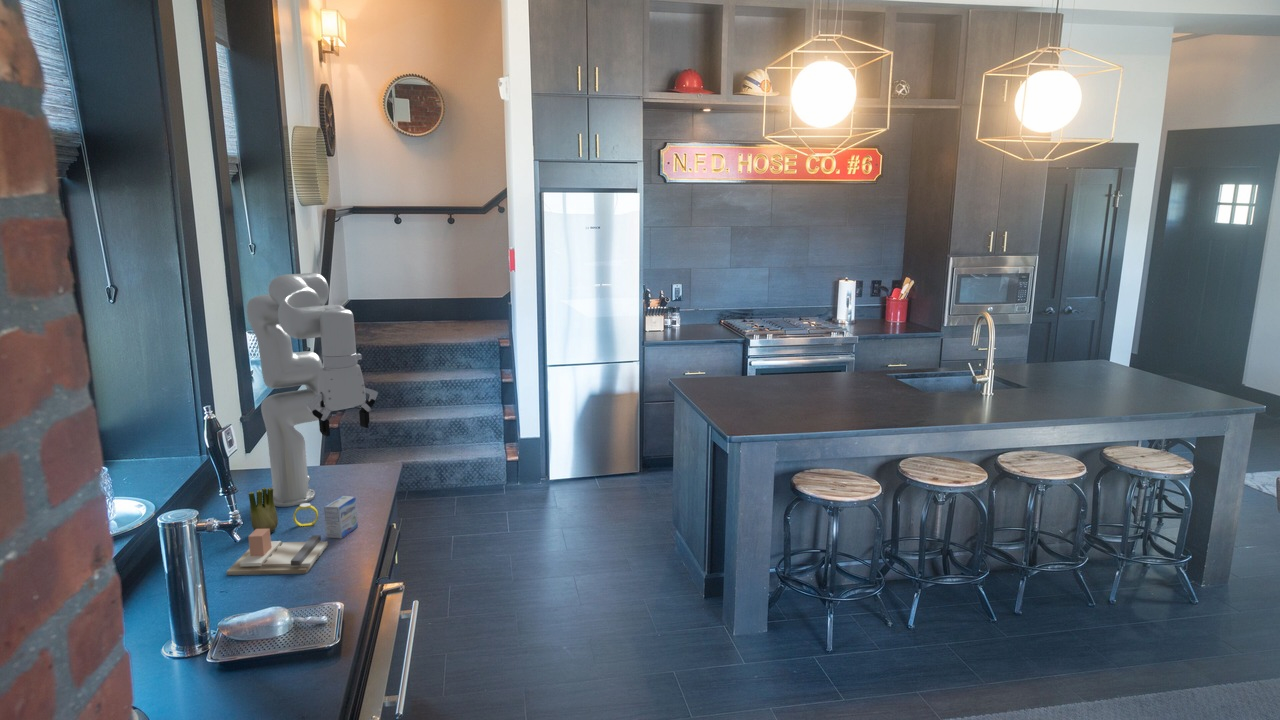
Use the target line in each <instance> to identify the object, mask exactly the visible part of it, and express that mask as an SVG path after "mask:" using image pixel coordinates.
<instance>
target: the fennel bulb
mask: <svg viewBox="0 0 1280 720" xmlns="http://www.w3.org/2000/svg"><path fill="white" fill-rule="evenodd" d="M248 498H249V507H250V522H251V526H252V529H253V531H255V530H256V529H270V534H272V533H273V532H275V531H276V529H277V528H278V524H279V518H278V513H277V509H276V506H275V505H274V499H273V487H268V488H267V487H262V488H261V489H258V490H257V491H256V497H255V493H254V491H250V492H248Z"/></svg>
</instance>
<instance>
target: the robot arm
mask: <svg viewBox="0 0 1280 720" xmlns="http://www.w3.org/2000/svg"><path fill="white" fill-rule="evenodd" d="M329 297H330V287H329V284H328V281H327V279H326V278H325V277H324V276H323V275H322V274H319V273H317V272H307V273H306V272H305V273H289V274H282V275H278V276H276V277H275V278H273V279H272V280H271V281H270V282H269V284H268V294H261V295H257V296H253V297H252V298H250V299H249V300H248V302H247V305H246V318H247V320H248V323H249V325H250V327H251V329H252V331H253V333H254V335H255V337H256V340H257V344H258V353H259V360H260V367H261V373H262V378H263V382H264V384H265V386H266V387H268V388H269V389H274V390H275V389H283V388H284V389H285V388H292V387H300V386H305V388H306V389H299V390H291V391H284V392H280V393H275V394H271V395H269V396H266V398H264V399H263V400H262V402H261V406H260V412H261V416H262V419H263V422H264V427H265V430H266V436H267V445H268V446H267V447H268V453H269V454H268V455H269V465H270V475H271V483H272V484H271V485H272V486H271V487H272V488H273V499H274V505H275V507H279V508H281V507H282V508H284V507H286V508H287V507H288V508H289V507H294V506H300V504H303V503H310V502H311V501H312V500H314V498H315V497H316V491H315V490H314V489H313V488H310V485H309V484H310V483H309V482H310V480H311V477H310V475H309V473H308V463H307V451H306V440H305V437H304V436H303V434H302V433H301V432H299V431H298V429H296V428H295V426H297V425H301V424H305V423H312V422H317V421H318V425H319V427H318V428H319V432H320V434H321V435H322V436H324V437H330V436H331V429H330V420H329V419H328V417H329V416H330V414H331V412H334V411H335V412H336V411H340V410H346V409H350V408H356V407H359V408H360V409H359V410H358V416H359V426H360V427H363V428H365V429H368V428H369V427H370V425H369V424H370V412H371V411H372V409H371V408H372V407H373V406H374V405H375V404H376V399H377V397H378V394H379V392H378V391H377V390H374V389H371V388H367V387H366V386H365V380H364V375H363V373H362V370H361V369H362V368H361V366H360V364H358V363H359V360H363V359H362V358H363V355H362V354H361V353H358V352H357V346H356V345H357V343H356V333H355V330H356V329H355V319H354V318H355V317H354V314H353V312H352V311H351V310H350V309H347V308H345V307H344V306H342V305H341V304H327V302H328V299H329ZM326 304H327V305H326ZM292 338H293V339H295V340H308V339H316V338H320V342H321V343H320V344H321V353H322V360H321V357H320V356H319V355H318V354H317V353H316V352H314V351H311V350H309V351H308V350H307V351H305V350H304V351H299V352H294V350H293V345H292ZM367 394H368V395H369V398H368V399H367V396H366V395H367Z"/></svg>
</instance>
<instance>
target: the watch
mask: <svg viewBox="0 0 1280 720" xmlns="http://www.w3.org/2000/svg"><path fill="white" fill-rule="evenodd" d="M307 509H311V510H313V512H314V513H315V516H316V517H315V519H314V520H313V521H312V522H308V523H301V522H299V521H298V520H297V517H296V514H297V513H298V511H300V510H307ZM292 515H293V516H292V517H293V522H294V523H295V525H296V526H298V527H299V528H303V526H304V527H311V526H314V524H316V523H317V520H318V519H319V512H318V509H317V508H316V507H315V506H314V505H312V504H311V503H310V502H306V503H303V504H300V505H299V506H298V507H297V508H296V509H295V511H294V512H293V514H292ZM301 526H302V527H301Z"/></svg>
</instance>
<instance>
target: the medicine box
mask: <svg viewBox="0 0 1280 720" xmlns="http://www.w3.org/2000/svg"><path fill="white" fill-rule="evenodd" d="M323 513H324V521H325V522H324V523H325V533H326V538H329V539H338V538H342V539H344V538H345V537H346V536H348V535H349V534H350V533H352V532H353V531H354V530H355V529H357V528H358V526H359V524H358V514H357V513H358V512H357V501H356V497H355V496H350V495H349V496H348V495H341V496H339V497H338V498H335V500H333V501H331V502H329V503H328V504H326V505H325V506H324V507H323ZM347 534H348V535H347ZM344 536H345V537H344ZM343 537H344V538H343Z"/></svg>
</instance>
